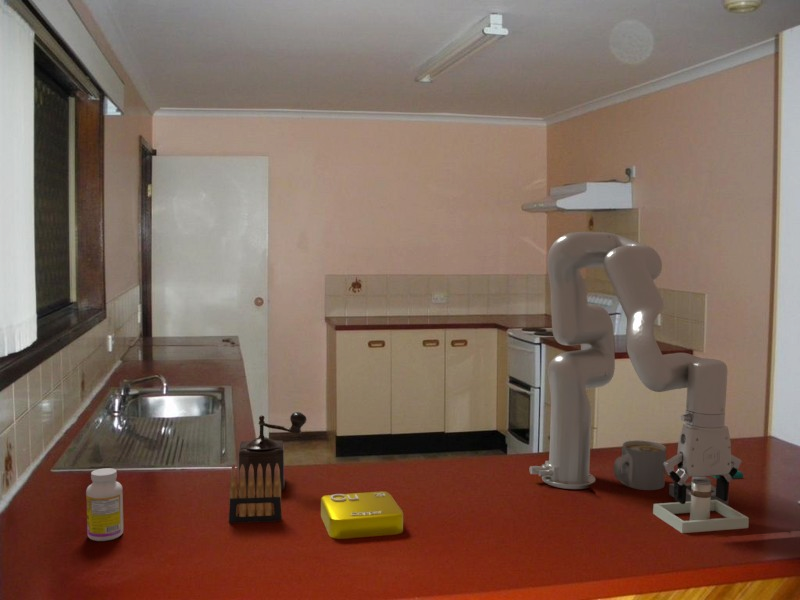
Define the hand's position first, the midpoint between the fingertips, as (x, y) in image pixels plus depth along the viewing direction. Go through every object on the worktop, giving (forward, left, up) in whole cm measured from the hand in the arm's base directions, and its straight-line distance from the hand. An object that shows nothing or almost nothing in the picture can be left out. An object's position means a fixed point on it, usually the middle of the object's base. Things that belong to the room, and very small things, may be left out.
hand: (700, 500), depth 169 cm
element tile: (-69, +14, -6) cm, 70 cm away
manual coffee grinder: (-85, +42, -6) cm, 95 cm away
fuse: (0, 0, -5) cm, 5 cm away
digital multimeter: (+24, +31, -6) cm, 40 cm away
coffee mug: (-1, +25, -6) cm, 25 cm away
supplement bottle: (-119, +17, -5) cm, 120 cm away
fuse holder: (+7, +12, -5) cm, 14 cm away
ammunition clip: (-90, +20, -6) cm, 92 cm away
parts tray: (0, 0, -5) cm, 5 cm away
